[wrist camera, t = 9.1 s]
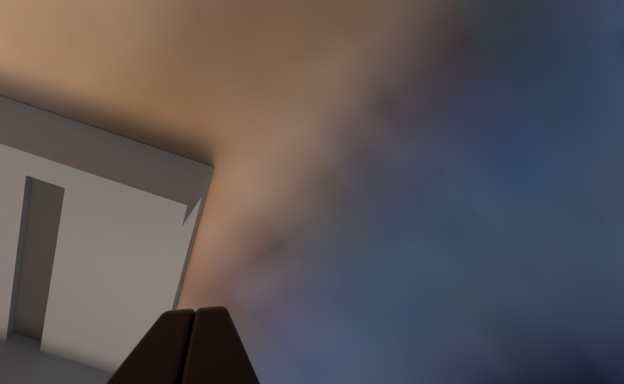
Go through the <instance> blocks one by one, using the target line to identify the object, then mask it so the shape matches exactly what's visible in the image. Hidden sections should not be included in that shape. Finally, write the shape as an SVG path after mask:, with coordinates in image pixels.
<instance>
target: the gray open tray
mask: <svg viewBox="0 0 624 384" xmlns="http://www.w3.org/2000/svg"><path fill="white" fill-rule="evenodd" d="M213 170H214V167H212V166H209V165H206V164H203V163H200V162H197V161H194V160H191V159H188V158H185V157H182V156H179V155H176V154H173V153H170V152H167V151H164V150H161V149H158V148H155V147H152V146H149V145H146V144H143V143H140V142H137V141H134V140H131V139H128V138H125V137H122V136H119V135H116V134H113V133H110V132H107V131H104V130H101V129H98V128H95V127H92V126H89V125H86V124H83V123H80V122H77V121H74V120H71V119H68V118H65V117H62V116H59V115H56V114H53V113H50V112H47V111H44V110H41V109H38V108H35V107H32V106H29V105H26V104H23V103H20V102H17V101H14V100H11V99H8V98H5V97H2V96H0V384H106V382H107V381H108V380H109V379H110V377H111V376H112V375H113V374H114V372H115V371H116V370H117V369H118V367H119V366H120V365H121V364H122V362H123V361H124V360H125V359H126V358H127V356H128V355H129V354H130V353H131V351H132V350H133V349H134V348H135V346H136V345H137V344H138V343H139V341H140V340H141V339H142V338H143V336H144V335H145V334H146V333H147V331H148V330H149V329H150V328H151V327H152V325H153V324H154V323H155V322H156V320H157V319H158V318H159V317H160V315H161V314H162V313H164V312H165V311H168V310H175V309H176V306H177V302H178V298H179V295H180V291H181V287H182V283H183V280H184V276H185V272H186V269H187V265H188V261H189V258H190V254H191V250H192V247H193V243H194V239H195V236H196V232H197V228H198V225H199V221H200V217H201V214H202V210H203V206H204V203H205V199H206V195H207V192H208V188H209V184H210V181H211V177H212V173H213Z"/></svg>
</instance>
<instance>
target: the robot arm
mask: <svg viewBox="0 0 624 384" xmlns="http://www.w3.org/2000/svg"><path fill="white" fill-rule="evenodd" d="M106 384H260V383H259V381H258V378H257V376H256V374H255V371H254V369H253V367H252V365H251V362H250V360H249V358H248V355H247V353H246V351H245V348H244V346H243V344H242V342H241V339H240V337H239V335H238V332H237V330H236V328H235V326H234V323H233V321H232V319H231V316H230V314H229V312H228V310H227V308H226V307H224V306H217V307H205V308H199V309H198V310H197V311H196V312H195V311H194V310H192V309H180V310H168V311H165V312H164V313H162V314H161V315H160V317H159V318H158V319H157V320H156V322H155V323H154V324H153V325H152V327H151V328H150V329H149V330H148V331H147V333H146V334H145V335H144V336H143V338H142V339H141V340H140V341H139V343H138V344H137V345H136V346H135V348H134V349H133V350H132V351H131V353H130V354H129V355H128V356H127V358H126V359H125V360H124V361H123V362H122V364H121V365H120V366H119V367H118V369H117V370H116V371H115V372H114V374H113V375H112V376H111V377H110V379H109V380H108V381H107V382H106Z"/></svg>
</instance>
